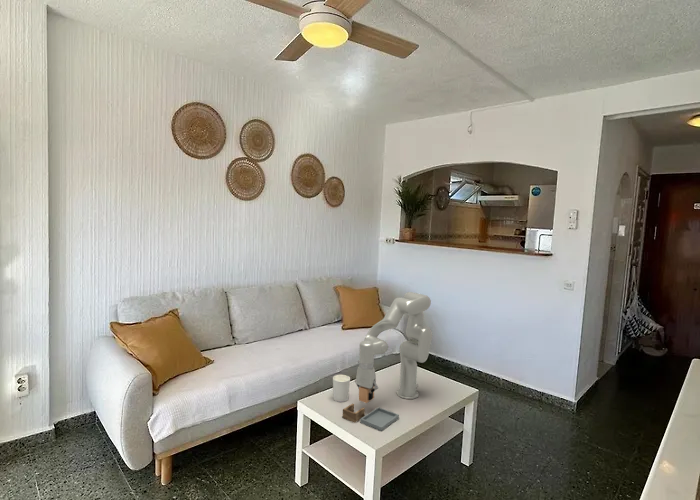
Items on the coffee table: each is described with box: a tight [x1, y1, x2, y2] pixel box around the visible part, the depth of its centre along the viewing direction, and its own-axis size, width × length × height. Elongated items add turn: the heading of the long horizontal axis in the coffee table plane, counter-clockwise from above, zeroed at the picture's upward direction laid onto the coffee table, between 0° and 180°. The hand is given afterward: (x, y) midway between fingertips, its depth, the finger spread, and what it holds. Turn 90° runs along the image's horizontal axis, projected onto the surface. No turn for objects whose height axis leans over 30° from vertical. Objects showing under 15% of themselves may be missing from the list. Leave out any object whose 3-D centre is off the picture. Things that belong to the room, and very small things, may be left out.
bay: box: [342, 403, 366, 424], centre depth 200 cm, size 8×8×4 cm
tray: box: [359, 406, 400, 432], centre depth 197 cm, size 17×13×2 cm
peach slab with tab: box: [358, 386, 375, 404], centre depth 209 cm, size 11×5×7 cm, turn 143°
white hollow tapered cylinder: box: [332, 374, 351, 403], centre depth 220 cm, size 10×10×12 cm
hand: (366, 397), depth 207 cm, fingers closed on peach slab with tab, 5 cm apart
